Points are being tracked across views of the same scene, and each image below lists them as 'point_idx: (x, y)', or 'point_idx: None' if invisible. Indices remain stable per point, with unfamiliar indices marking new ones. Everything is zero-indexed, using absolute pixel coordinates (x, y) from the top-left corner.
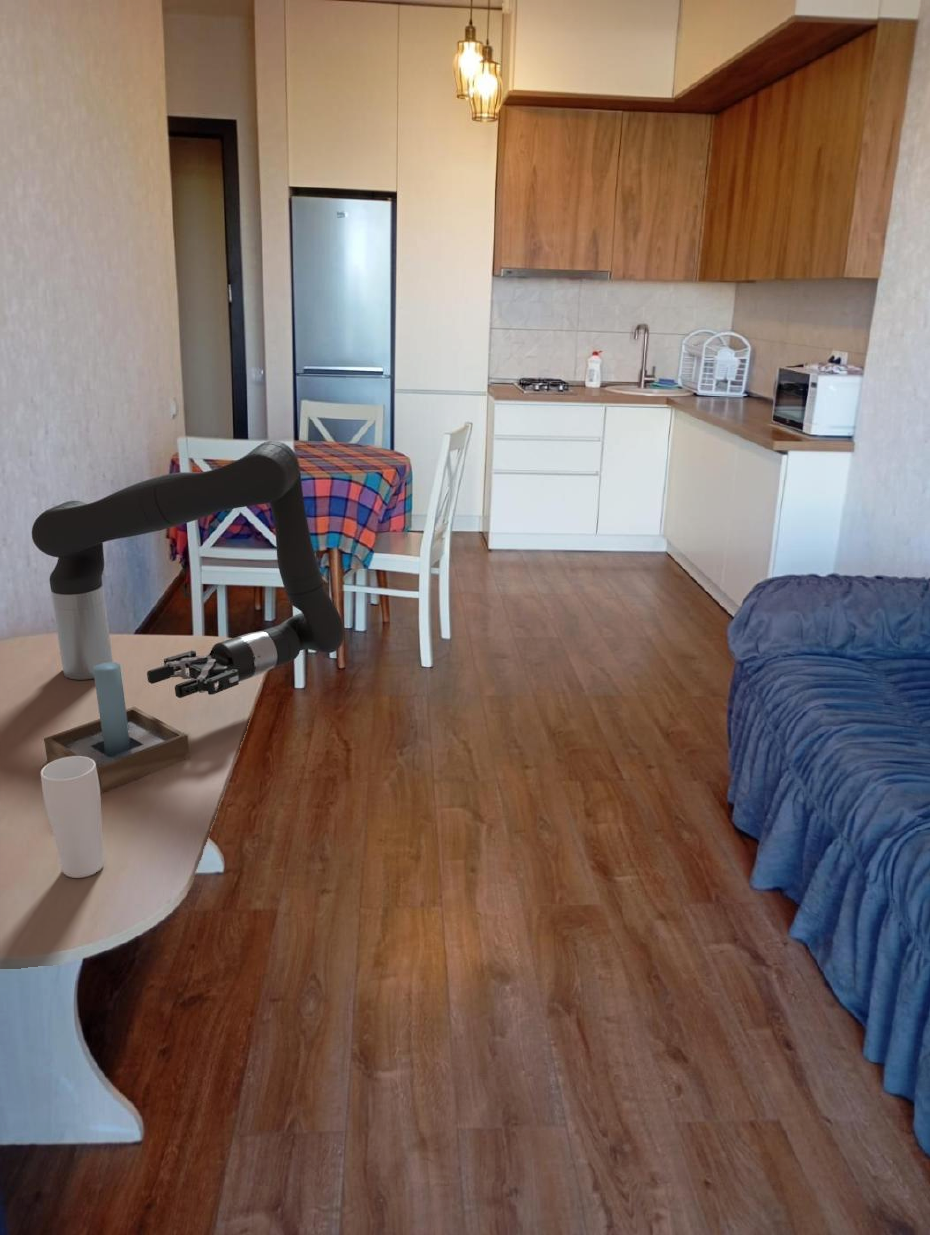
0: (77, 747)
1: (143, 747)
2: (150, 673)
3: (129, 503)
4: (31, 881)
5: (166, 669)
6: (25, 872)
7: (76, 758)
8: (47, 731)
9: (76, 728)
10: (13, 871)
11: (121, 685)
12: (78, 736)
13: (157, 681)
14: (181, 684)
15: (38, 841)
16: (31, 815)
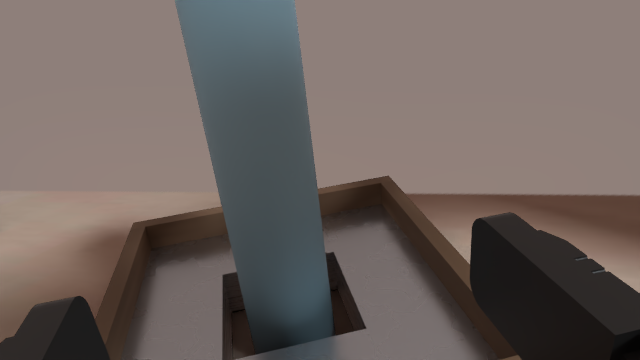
0: (342, 233)
1: (198, 356)
2: (481, 228)
3: None
4: (24, 203)
5: (586, 340)
6: (51, 199)
7: None
8: (577, 237)
9: (413, 214)
10: (70, 193)
11: (204, 88)
12: (407, 236)
13: (502, 330)
14: (26, 327)
15: (104, 210)
16: (189, 207)
